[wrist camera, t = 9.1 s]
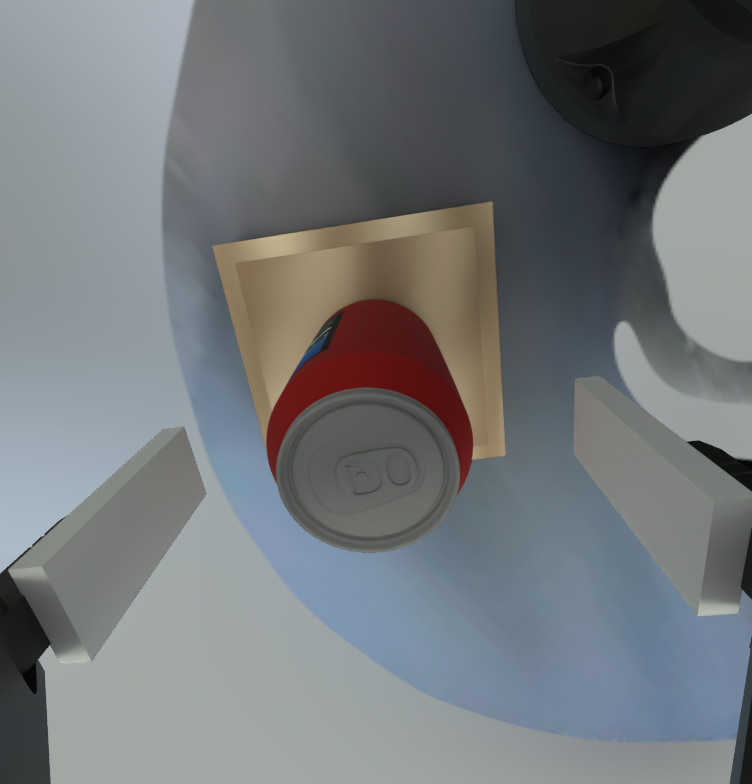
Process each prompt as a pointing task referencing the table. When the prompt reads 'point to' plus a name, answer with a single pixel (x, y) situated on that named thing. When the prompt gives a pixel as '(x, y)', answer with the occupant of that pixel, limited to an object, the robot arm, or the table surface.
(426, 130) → the table surface
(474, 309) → the square tray
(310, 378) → the beverage can
